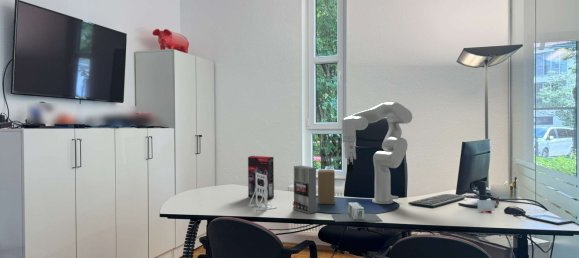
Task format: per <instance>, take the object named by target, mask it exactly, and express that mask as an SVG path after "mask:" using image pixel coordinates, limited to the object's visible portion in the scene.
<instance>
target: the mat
mask: <svg viewBox="0 0 579 258" xmlns="http://www.w3.org/2000/svg"><path fill="white" fill-rule="evenodd" d="M331 217H332V218H333V220H334V222H335V223H343V222H344V223H350V222H353V223H354V222H355V223H356V222H361V223H362V222H363V223H364V222H383V220H382V218H381V217H379V216H378V215H377V214H376V213H364V219H353V218H352V217H351V216H350V215H349V213H331Z"/></svg>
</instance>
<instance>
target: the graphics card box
mask: <svg viewBox="0 0 579 258" xmlns="http://www.w3.org/2000/svg"><path fill="white" fill-rule="evenodd" d="M274 159H275V158H274V156H266V155H265V156H263V155H262V156H261V155H250V156H248V157H247V181H248V183H247V186H248V190H247V192H248V193H247V195H248V197H249V198H252V196H253V194H254V192H255V188H256V173H259V174H263V175H267V191H268V197H267V200H270V199H274V198H275V193H274V192H275V191H274V190H275V188H274V187H275V183H274V182H275V181H274V179H275V178H274V176H275V175H274V171H275V170H274V164H275V163H274ZM257 177H258V175H257ZM259 177H260V175H259ZM261 178H262V176H261ZM263 179H264V177H263ZM263 179H259V178H258V179H257V183H258V185H259V186H262V187H264V180H263ZM258 192H259V188H258ZM260 193H261V189H260ZM263 194H264V190H263ZM262 197H263V196H260V195H258V197H257V199H262ZM253 198H255V199H256V192H255V194H254V197H253ZM262 200H264V197H263V199H262Z"/></svg>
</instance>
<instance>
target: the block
mask: <svg viewBox="0 0 579 258" xmlns="http://www.w3.org/2000/svg"><path fill="white" fill-rule="evenodd" d="M335 181H336V180H335V170H334V169H318V170H317V202H318V203H317V204H318V205H335V196H336V195H335V188H336V187H335V186H336V185H335Z"/></svg>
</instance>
